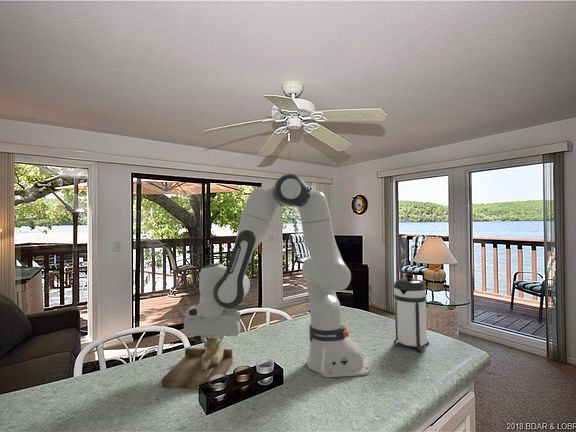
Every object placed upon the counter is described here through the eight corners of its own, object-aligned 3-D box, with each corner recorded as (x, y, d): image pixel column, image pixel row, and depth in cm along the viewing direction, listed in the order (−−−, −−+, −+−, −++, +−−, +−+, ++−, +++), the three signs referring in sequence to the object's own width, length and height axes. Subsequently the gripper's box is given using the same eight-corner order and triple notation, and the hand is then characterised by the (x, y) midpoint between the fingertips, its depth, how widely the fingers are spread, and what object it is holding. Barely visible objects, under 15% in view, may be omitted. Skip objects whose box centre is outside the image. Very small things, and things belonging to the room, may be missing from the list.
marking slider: (223, 357, 110) (223, 335, 111) (212, 372, 99) (212, 348, 99) (207, 356, 111) (207, 335, 111) (195, 372, 100) (194, 348, 100)
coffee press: (440, 352, 117) (438, 276, 118) (399, 353, 118) (397, 276, 118) (421, 335, 135) (419, 269, 135) (386, 336, 135) (384, 269, 136)
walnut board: (232, 362, 112) (232, 349, 112) (215, 389, 94) (215, 373, 94) (186, 361, 114) (186, 347, 114) (161, 387, 96) (161, 371, 96)
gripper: (242, 306, 110) (243, 344, 110) (189, 305, 112) (189, 343, 112) (237, 311, 104) (238, 351, 104) (181, 310, 106) (181, 350, 106)
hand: (212, 347), depth 108 cm, fingers closed on marking slider, 3 cm apart
